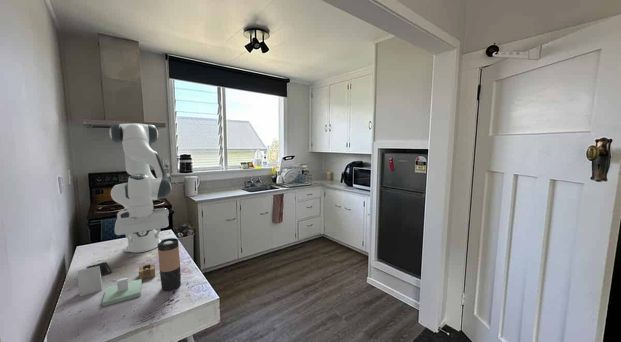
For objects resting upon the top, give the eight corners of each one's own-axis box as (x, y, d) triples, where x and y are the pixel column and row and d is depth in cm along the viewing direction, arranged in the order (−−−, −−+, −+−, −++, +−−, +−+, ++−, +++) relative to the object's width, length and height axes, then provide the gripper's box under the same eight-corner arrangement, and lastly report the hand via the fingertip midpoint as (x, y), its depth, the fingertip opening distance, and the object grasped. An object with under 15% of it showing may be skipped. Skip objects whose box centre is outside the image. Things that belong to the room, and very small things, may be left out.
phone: (106, 261, 128) (111, 271, 118) (106, 263, 128) (111, 274, 118) (85, 267, 122) (89, 278, 112) (86, 269, 122) (89, 280, 112)
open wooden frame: (139, 274, 116) (139, 265, 116) (155, 270, 120) (154, 262, 119) (139, 280, 111) (138, 270, 111) (155, 276, 114) (154, 267, 114)
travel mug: (184, 286, 106) (180, 241, 104) (163, 294, 101) (160, 246, 99) (178, 279, 112) (175, 236, 110) (158, 286, 107) (155, 241, 104)
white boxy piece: (101, 290, 104) (99, 267, 103) (79, 296, 100) (77, 273, 99) (102, 286, 107) (99, 264, 106) (80, 292, 103) (78, 269, 102)
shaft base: (107, 290, 104) (105, 277, 103) (141, 281, 110) (140, 269, 109) (102, 306, 94) (100, 291, 93) (140, 295, 100) (139, 281, 99)
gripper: (168, 205, 120) (170, 233, 121) (114, 212, 109) (117, 242, 111) (168, 208, 115) (170, 237, 116) (112, 215, 104) (115, 247, 105)
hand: (144, 240), depth 113 cm, fingers open, 8 cm apart
